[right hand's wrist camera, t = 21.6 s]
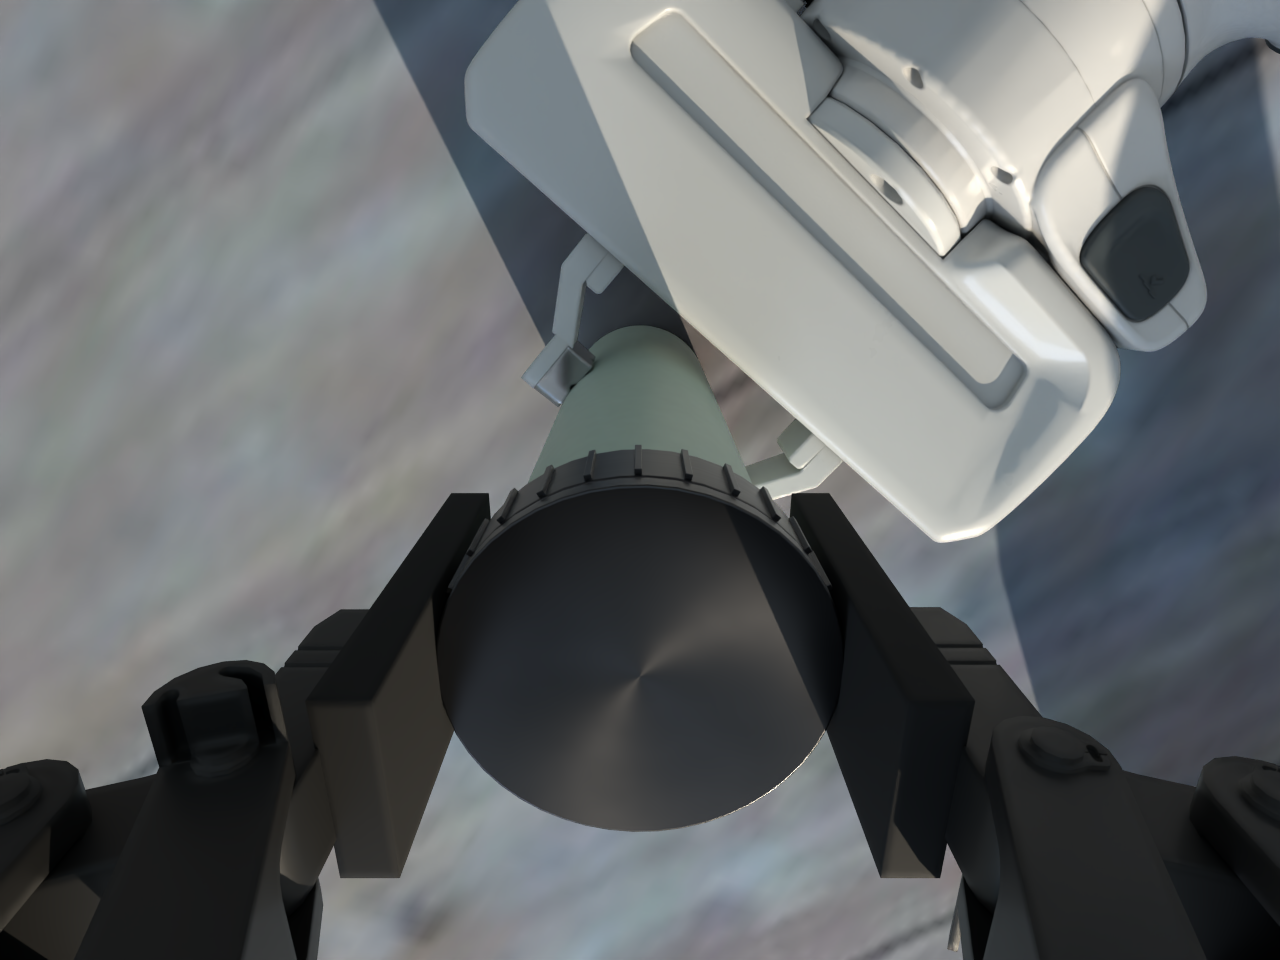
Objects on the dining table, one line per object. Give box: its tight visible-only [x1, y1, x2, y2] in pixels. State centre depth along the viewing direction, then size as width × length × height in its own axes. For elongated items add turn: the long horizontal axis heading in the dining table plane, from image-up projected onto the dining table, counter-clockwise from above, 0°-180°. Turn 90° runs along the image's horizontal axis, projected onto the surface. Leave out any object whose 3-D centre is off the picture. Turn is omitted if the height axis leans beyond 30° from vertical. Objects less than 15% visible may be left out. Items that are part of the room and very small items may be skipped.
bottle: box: [528, 325, 752, 483], centre depth 20 cm, size 5×5×18 cm
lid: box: [436, 445, 844, 832], centre depth 11 cm, size 6×6×2 cm
